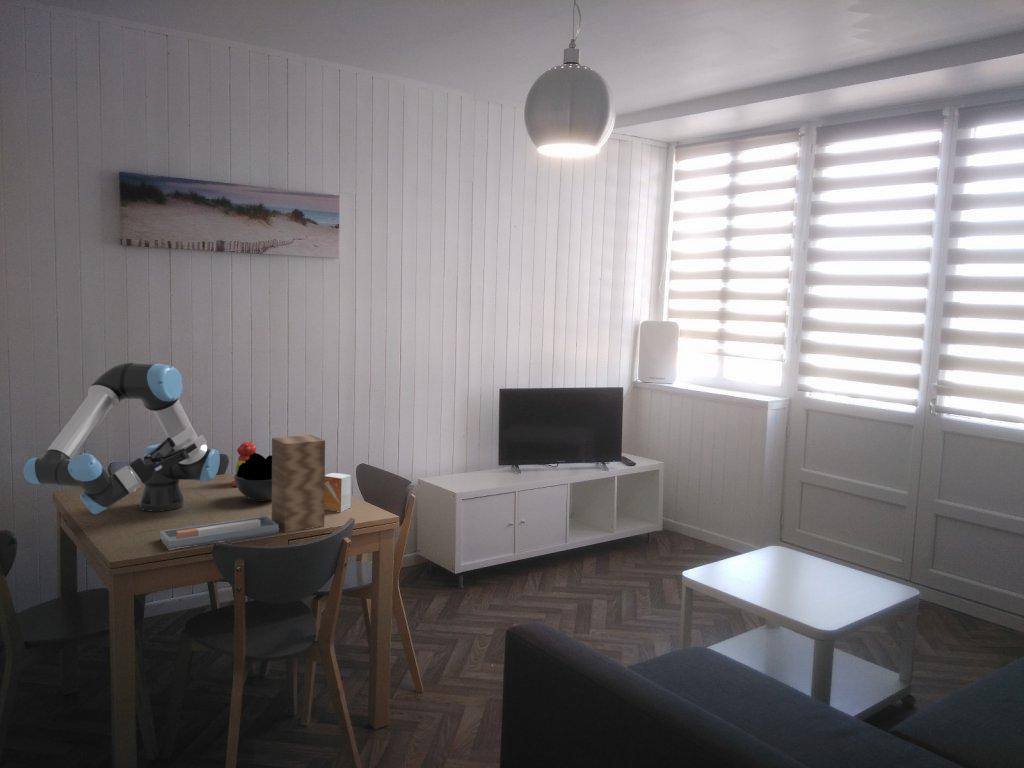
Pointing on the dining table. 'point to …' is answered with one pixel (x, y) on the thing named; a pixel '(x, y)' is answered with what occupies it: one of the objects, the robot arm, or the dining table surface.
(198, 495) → the dining table surface
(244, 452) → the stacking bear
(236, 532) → the tray
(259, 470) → the coal bowl
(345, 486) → the small box
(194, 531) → the marker
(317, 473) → the pedestal
